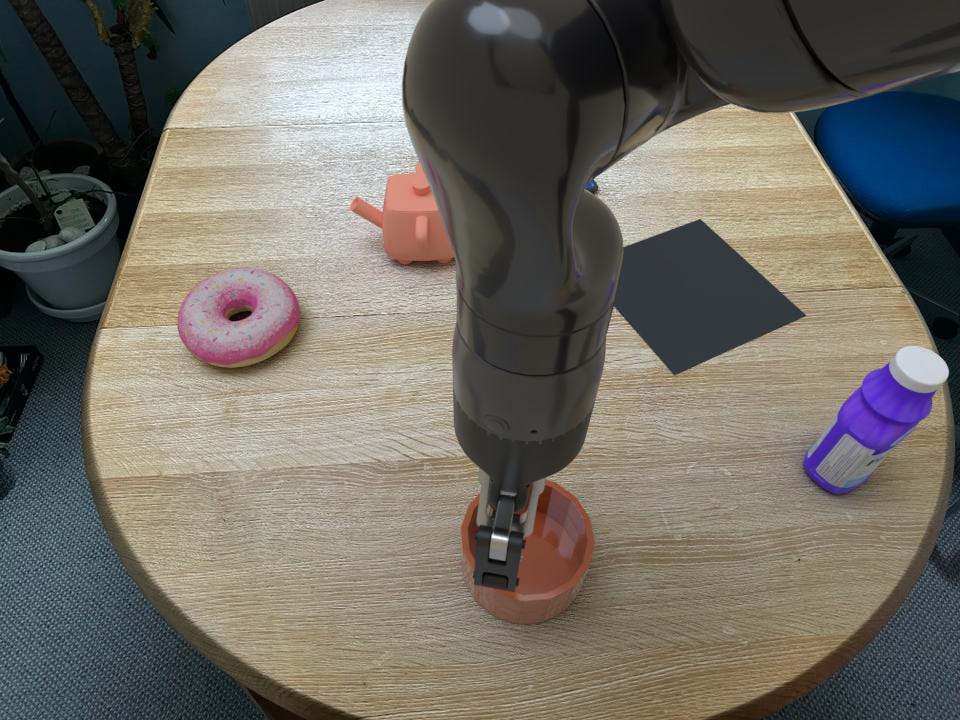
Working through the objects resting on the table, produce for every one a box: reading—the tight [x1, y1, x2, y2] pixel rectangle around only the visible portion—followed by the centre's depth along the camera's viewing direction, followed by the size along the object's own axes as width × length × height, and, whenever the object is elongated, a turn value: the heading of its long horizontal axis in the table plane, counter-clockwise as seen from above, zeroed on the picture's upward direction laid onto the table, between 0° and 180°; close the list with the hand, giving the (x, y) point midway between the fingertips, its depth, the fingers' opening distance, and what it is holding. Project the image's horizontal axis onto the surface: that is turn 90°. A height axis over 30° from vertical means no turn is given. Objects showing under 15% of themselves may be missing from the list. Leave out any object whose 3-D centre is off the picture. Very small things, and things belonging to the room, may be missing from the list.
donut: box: [176, 267, 302, 369], centre depth 77 cm, size 14×13×5 cm
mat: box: [614, 218, 807, 376], centre depth 84 cm, size 20×20×1 cm
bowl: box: [460, 479, 596, 625], centre depth 59 cm, size 11×11×6 cm
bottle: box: [802, 345, 950, 495], centre depth 62 cm, size 7×6×17 cm
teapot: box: [349, 161, 455, 265], centre depth 84 cm, size 14×12×10 cm
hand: (509, 515), depth 47 cm, fingers open, 8 cm apart
